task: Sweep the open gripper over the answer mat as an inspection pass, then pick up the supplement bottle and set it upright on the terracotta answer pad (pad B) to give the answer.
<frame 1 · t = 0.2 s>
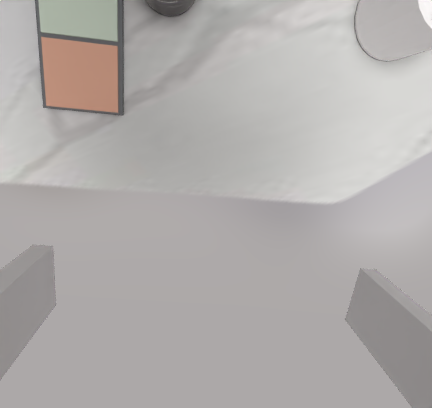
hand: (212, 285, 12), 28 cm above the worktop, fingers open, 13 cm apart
answer mat: (82, 41, 33), on the worktop
mug: (400, 18, 35), on the worktop
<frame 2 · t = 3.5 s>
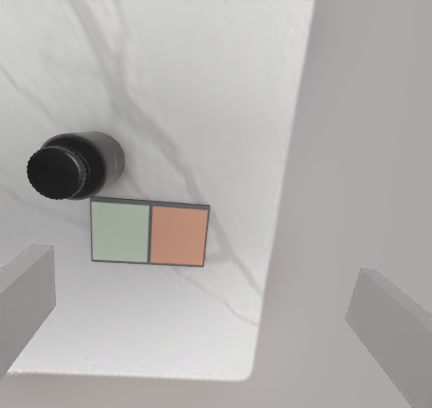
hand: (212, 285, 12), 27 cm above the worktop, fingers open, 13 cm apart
answer mat: (150, 232, 39), on the worktop
supplement bottle: (99, 157, 36), on the worktop
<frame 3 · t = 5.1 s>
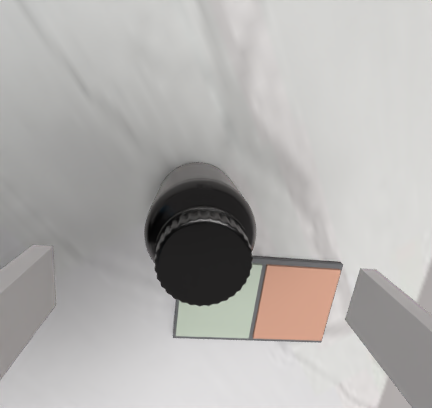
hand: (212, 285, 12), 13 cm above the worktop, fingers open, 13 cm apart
answer mat: (255, 298, 28), on the worktop
supplement bottle: (197, 197, 25), on the worktop
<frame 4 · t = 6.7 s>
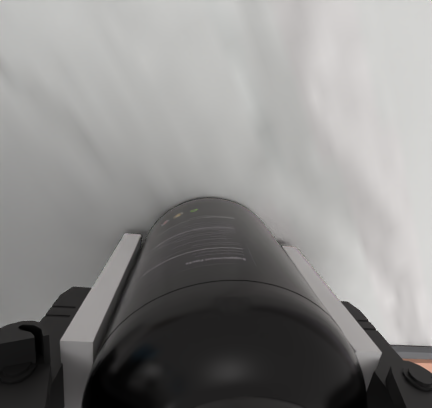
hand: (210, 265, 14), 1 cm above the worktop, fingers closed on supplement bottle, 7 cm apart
answer mat: (297, 401, 18), on the worktop
supplement bottle: (208, 254, 15), on the worktop, touching gripper
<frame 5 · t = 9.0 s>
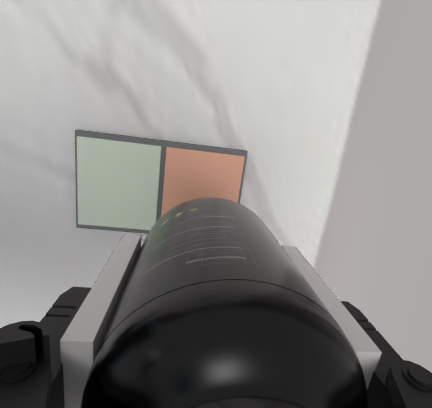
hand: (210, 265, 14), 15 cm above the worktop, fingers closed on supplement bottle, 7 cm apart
answer mat: (161, 188, 28), on the worktop
supplement bottle: (208, 253, 15), point 14 cm above the worktop, touching gripper
when the fingers open (3 cm above the worktop, at t = 11.6 s): supplement bottle drops 2 cm, resting on answer mat.
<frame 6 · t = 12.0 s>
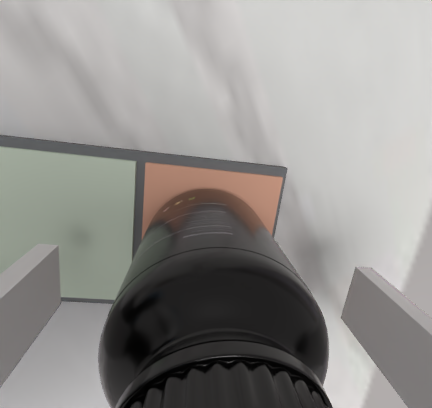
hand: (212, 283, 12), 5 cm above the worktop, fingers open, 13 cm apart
answer mat: (139, 231, 16), on the worktop
supplement bottle: (205, 240, 16), point 1 cm above the worktop, touching answer mat
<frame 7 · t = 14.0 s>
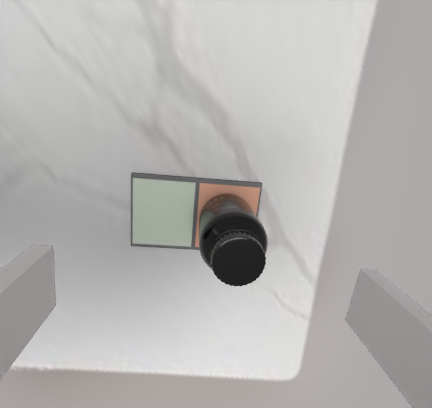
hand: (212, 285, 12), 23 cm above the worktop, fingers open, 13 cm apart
answer mat: (195, 214, 36), on the worktop
supplement bottle: (225, 217, 35), point 1 cm above the worktop, touching answer mat
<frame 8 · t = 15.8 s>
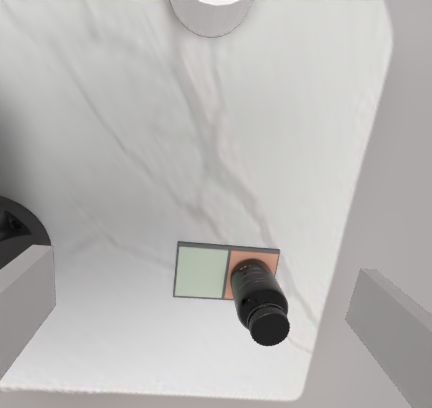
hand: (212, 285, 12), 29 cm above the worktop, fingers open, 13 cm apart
answer mat: (225, 272, 44), on the worktop
supplement bottle: (250, 275, 44), point 1 cm above the worktop, touching answer mat
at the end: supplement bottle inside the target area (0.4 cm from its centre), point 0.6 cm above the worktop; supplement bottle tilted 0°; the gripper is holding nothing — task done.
